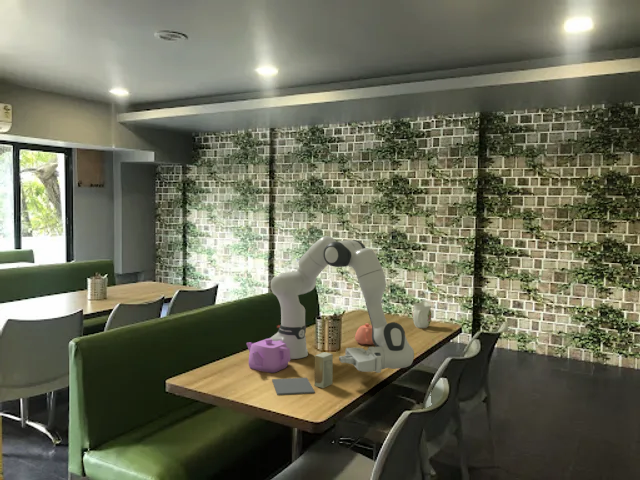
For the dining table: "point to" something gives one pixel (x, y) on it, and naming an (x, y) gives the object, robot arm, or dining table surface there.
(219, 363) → the dining table surface
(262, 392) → the dining table surface
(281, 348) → the teakettle
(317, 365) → the skincare box
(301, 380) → the mat
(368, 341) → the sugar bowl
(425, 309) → the pitcher
